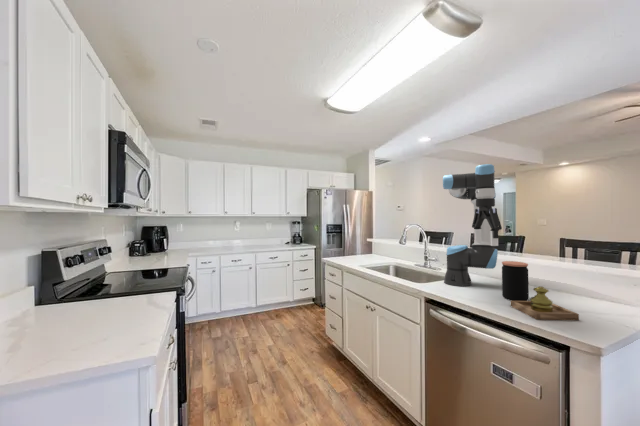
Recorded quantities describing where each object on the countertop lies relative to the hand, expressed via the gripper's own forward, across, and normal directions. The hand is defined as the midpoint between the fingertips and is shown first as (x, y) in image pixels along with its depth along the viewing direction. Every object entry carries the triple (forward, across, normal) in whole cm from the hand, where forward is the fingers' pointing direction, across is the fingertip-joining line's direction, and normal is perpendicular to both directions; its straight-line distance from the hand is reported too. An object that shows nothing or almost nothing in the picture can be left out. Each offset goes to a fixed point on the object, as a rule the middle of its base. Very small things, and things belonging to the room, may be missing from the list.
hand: (485, 244), depth 122 cm
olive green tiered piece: (+28, +7, +19) cm, 34 cm away
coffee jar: (+29, -12, +20) cm, 37 cm away
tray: (+29, +7, +19) cm, 35 cm away
